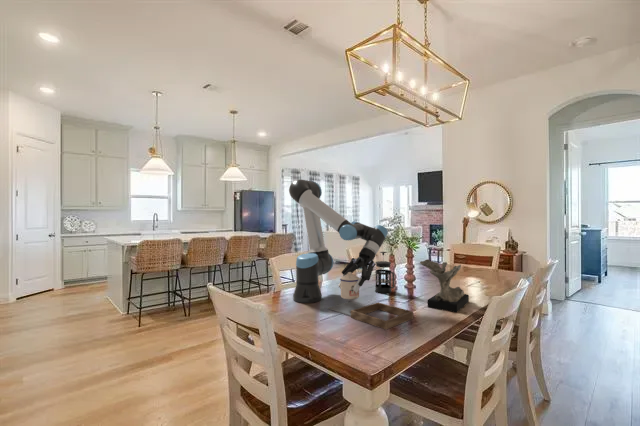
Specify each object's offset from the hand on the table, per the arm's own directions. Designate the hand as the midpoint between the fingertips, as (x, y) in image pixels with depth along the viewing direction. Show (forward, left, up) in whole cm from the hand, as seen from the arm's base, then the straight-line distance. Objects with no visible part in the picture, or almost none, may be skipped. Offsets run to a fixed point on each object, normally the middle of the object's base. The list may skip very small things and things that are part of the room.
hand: (347, 289), depth 151 cm
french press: (-10, +41, -10) cm, 43 cm away
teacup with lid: (0, +3, -4) cm, 5 cm away
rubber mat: (-1, +3, -10) cm, 11 cm away
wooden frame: (+17, +4, -10) cm, 20 cm away
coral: (+24, +43, -10) cm, 50 cm away
